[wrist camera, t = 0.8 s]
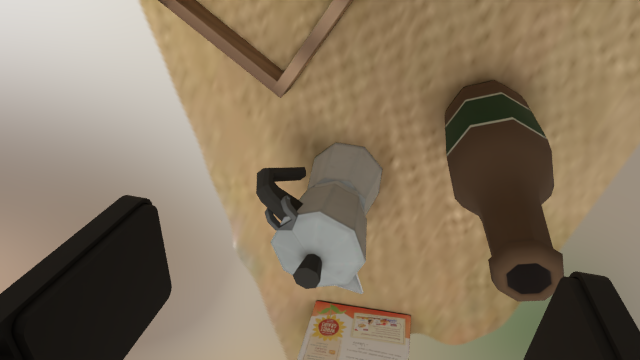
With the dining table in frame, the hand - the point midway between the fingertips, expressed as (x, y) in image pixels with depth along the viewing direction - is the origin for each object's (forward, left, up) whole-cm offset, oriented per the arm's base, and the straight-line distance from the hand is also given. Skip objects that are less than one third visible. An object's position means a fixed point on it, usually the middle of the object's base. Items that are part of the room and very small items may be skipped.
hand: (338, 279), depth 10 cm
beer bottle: (+2, +11, -35) cm, 36 cm away
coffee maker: (+17, +4, -35) cm, 39 cm away
